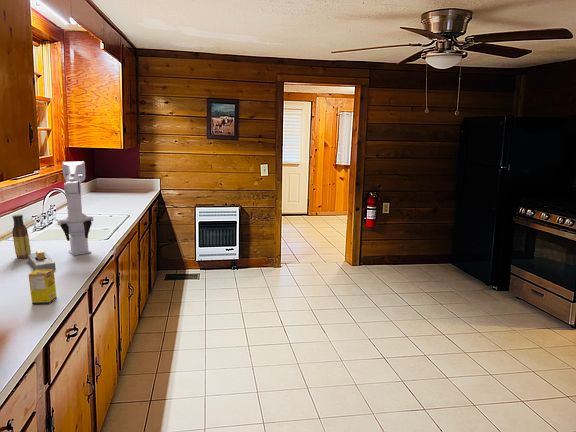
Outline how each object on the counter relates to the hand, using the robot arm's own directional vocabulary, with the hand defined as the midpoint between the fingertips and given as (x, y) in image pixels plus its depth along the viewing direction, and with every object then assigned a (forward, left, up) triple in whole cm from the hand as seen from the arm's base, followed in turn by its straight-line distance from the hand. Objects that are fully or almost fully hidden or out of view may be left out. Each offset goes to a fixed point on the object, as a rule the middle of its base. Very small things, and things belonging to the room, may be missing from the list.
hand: (77, 239), depth 216 cm
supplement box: (+46, -23, -10) cm, 52 cm away
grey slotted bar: (-3, -15, -10) cm, 18 cm away
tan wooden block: (-3, -15, -10) cm, 18 cm away
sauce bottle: (-22, -19, -10) cm, 31 cm away
